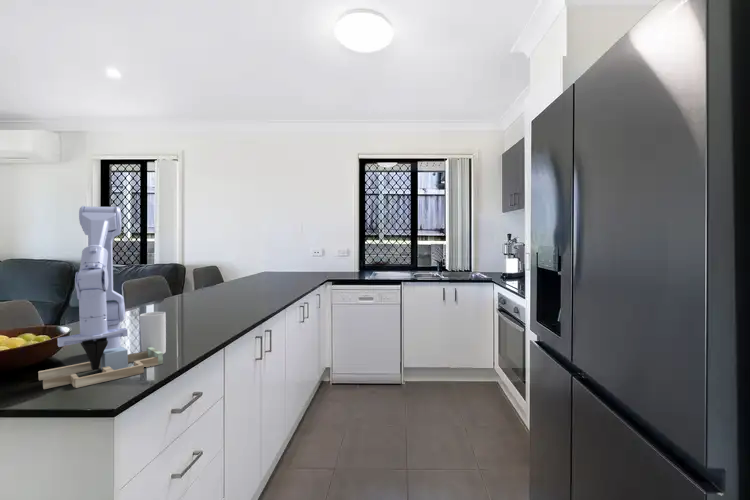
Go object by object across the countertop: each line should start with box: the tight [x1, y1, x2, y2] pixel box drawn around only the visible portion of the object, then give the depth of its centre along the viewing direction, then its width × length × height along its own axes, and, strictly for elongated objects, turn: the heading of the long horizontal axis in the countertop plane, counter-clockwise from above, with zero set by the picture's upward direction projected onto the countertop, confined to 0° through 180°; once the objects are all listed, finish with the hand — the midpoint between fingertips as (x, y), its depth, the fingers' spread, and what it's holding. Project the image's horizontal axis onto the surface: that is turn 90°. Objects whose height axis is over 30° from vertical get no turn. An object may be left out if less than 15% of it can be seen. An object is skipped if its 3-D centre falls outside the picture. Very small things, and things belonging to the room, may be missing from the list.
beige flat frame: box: [37, 347, 164, 390], centre depth 102 cm, size 14×25×3 cm, turn 135°
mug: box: [139, 311, 167, 355], centre depth 121 cm, size 10×7×12 cm, turn 20°
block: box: [100, 346, 129, 371], centre depth 105 cm, size 5×5×5 cm
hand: (95, 369), depth 102 cm, fingers closed
